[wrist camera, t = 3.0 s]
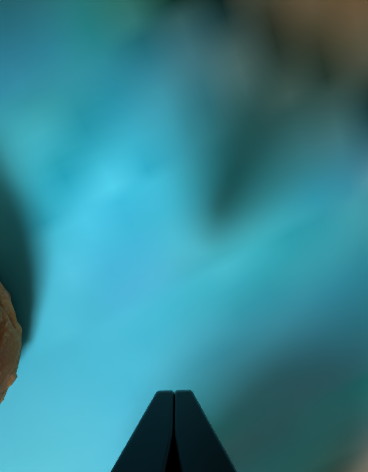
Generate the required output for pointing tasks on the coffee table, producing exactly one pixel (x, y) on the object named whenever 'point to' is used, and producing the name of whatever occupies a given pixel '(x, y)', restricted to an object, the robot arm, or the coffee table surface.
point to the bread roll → (8, 342)
